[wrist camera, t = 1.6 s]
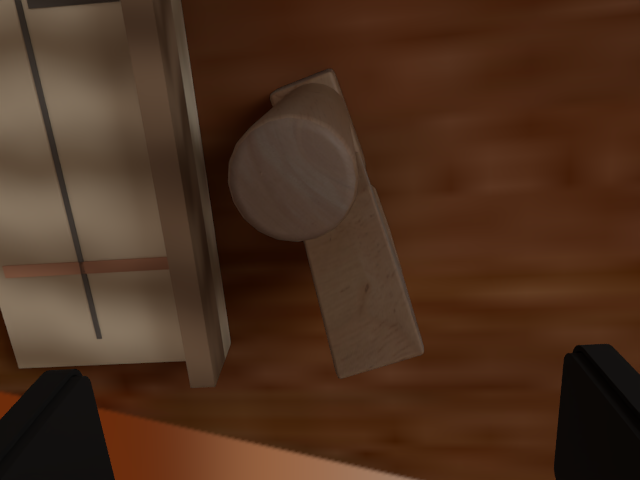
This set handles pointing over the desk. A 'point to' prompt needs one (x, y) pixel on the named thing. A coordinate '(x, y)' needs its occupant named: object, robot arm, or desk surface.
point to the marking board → (105, 190)
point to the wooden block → (328, 220)
